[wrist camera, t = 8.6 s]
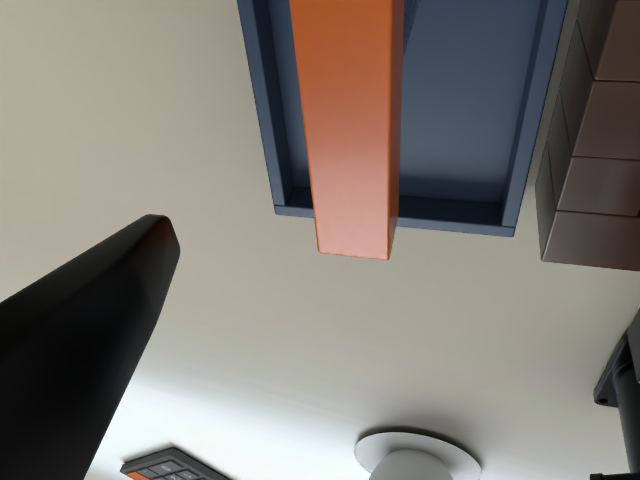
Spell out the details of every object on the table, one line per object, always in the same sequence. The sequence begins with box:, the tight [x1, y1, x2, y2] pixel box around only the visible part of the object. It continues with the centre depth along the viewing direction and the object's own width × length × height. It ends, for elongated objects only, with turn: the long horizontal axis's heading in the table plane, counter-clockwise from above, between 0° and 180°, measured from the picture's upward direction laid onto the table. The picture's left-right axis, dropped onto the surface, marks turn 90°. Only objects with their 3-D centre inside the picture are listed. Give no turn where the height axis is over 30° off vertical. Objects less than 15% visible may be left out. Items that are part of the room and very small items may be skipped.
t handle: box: [289, 0, 419, 260], centre depth 15 cm, size 8×2×9 cm, turn 5°
